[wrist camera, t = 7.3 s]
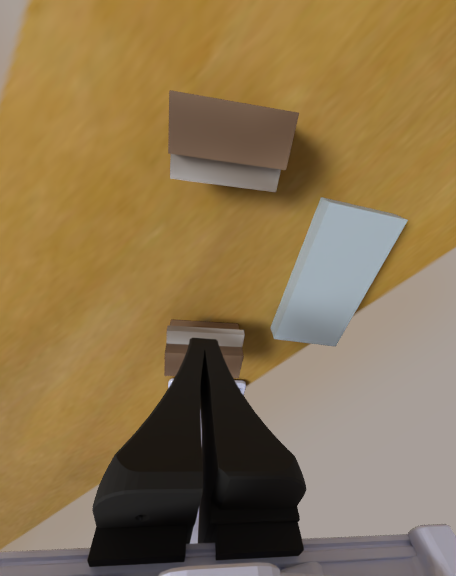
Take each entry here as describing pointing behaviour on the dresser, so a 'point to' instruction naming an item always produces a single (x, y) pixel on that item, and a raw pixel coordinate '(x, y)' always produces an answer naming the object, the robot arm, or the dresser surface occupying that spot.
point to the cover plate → (334, 271)
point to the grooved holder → (223, 183)
